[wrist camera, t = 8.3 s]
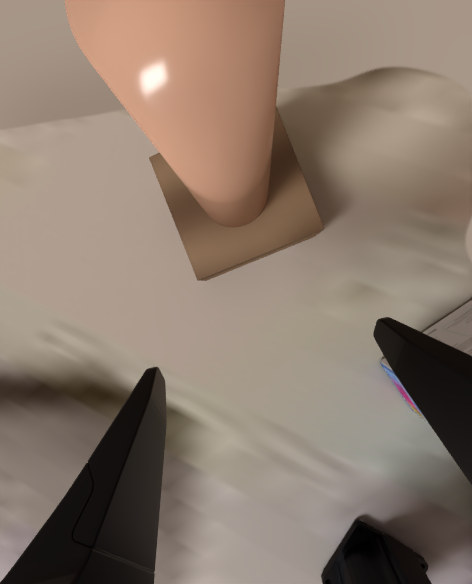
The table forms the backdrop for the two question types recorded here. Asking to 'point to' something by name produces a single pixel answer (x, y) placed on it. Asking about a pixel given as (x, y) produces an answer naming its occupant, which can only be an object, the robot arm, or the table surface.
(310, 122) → the table surface
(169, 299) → the table surface
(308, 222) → the walnut plinth
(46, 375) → the table surface
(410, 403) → the ink cartridge box
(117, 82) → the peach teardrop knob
